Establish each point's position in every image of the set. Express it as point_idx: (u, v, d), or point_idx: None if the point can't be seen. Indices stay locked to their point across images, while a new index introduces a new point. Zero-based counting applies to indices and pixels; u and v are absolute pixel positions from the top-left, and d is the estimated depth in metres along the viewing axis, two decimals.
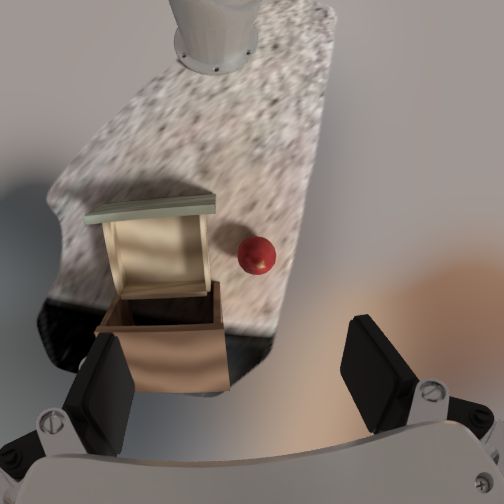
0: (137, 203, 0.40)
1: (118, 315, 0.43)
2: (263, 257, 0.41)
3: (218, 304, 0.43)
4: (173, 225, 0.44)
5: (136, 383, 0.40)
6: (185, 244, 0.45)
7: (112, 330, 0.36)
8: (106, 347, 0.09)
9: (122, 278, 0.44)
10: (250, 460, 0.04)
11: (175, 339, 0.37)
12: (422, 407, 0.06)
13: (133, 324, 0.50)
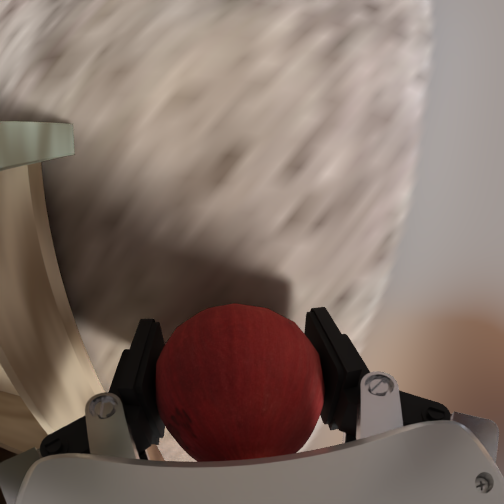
0: None
1: None
2: (270, 441, 0.06)
3: None
4: None
5: None
6: None
7: None
8: (150, 332, 0.10)
9: None
10: (250, 460, 0.04)
11: None
12: (372, 403, 0.07)
13: None
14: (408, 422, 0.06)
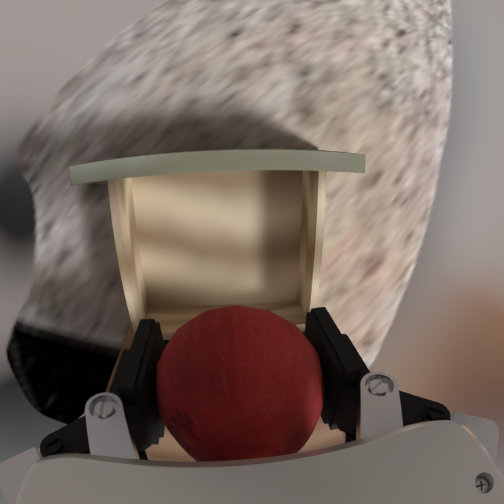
0: (184, 151, 0.20)
1: None
2: (270, 442, 0.06)
3: None
4: (247, 201, 0.24)
5: None
6: (267, 236, 0.25)
7: None
8: (150, 332, 0.10)
9: (143, 299, 0.24)
10: (250, 460, 0.04)
11: None
12: (372, 403, 0.07)
13: None
14: (408, 422, 0.06)
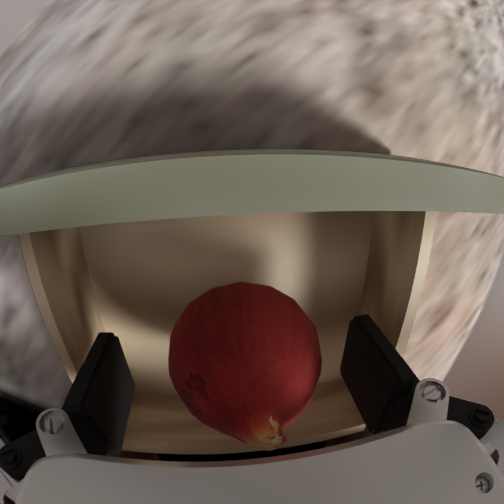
0: (160, 155, 0.10)
1: None
2: (274, 401, 0.08)
3: None
4: (282, 245, 0.13)
5: None
6: (311, 300, 0.15)
7: None
8: (106, 347, 0.09)
9: None
10: (250, 460, 0.04)
11: None
12: (422, 407, 0.06)
13: None
14: None
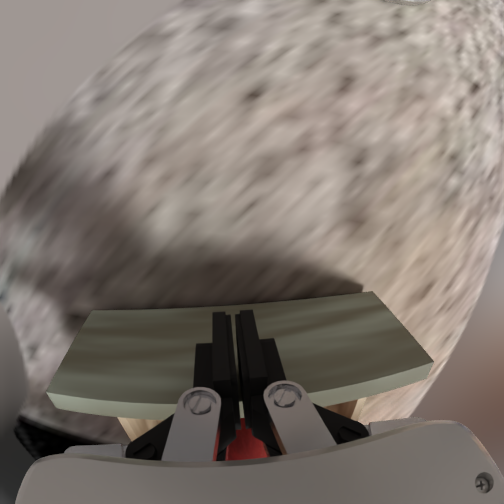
0: (191, 332, 0.15)
1: None
2: None
3: None
4: None
5: None
6: None
7: None
8: (227, 324, 0.10)
9: None
10: (250, 460, 0.04)
11: None
12: (285, 417, 0.07)
13: None
14: None
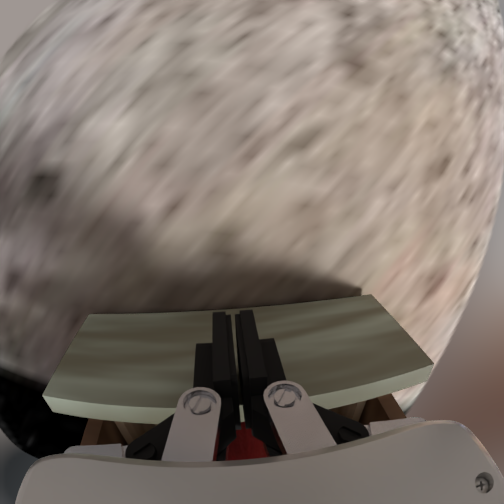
0: (188, 336, 0.15)
1: (113, 441, 0.13)
2: None
3: (396, 408, 0.13)
4: None
5: None
6: None
7: None
8: (227, 324, 0.10)
9: None
10: (250, 460, 0.04)
11: None
12: (285, 417, 0.07)
13: None
14: None
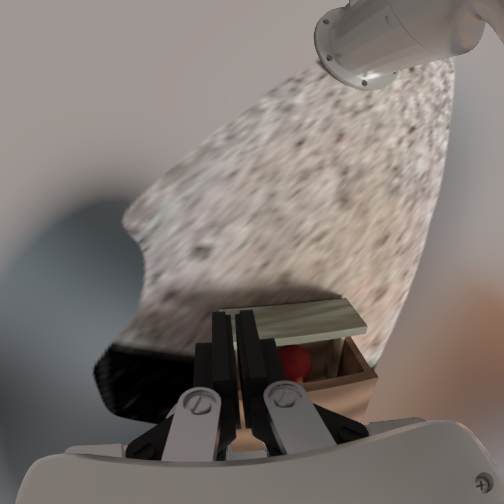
0: (272, 315, 0.38)
1: None
2: (301, 374, 0.36)
3: (355, 348, 0.37)
4: None
5: (259, 443, 0.33)
6: (310, 345, 0.43)
7: None
8: (227, 324, 0.10)
9: None
10: (250, 460, 0.04)
11: (327, 395, 0.31)
12: (285, 417, 0.07)
13: None
14: None
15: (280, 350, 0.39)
